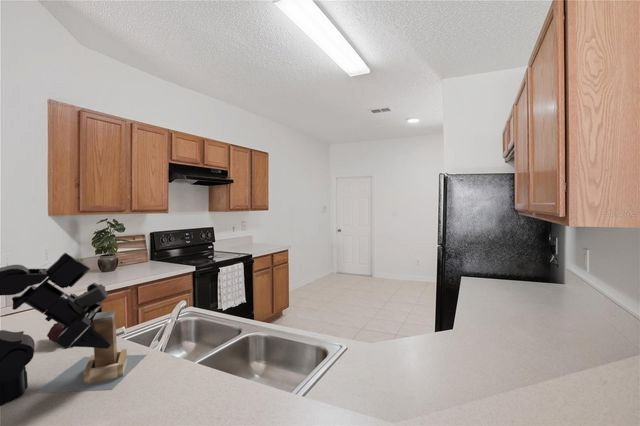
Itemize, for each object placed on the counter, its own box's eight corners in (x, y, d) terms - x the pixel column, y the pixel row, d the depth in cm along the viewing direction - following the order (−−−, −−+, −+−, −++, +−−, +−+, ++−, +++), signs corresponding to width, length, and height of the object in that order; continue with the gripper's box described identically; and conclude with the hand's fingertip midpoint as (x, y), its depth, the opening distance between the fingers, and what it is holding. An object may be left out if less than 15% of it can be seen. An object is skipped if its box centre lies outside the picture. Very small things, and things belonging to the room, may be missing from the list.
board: (112, 393, 71) (112, 389, 71) (34, 397, 71) (34, 392, 70) (147, 358, 87) (147, 354, 87) (84, 360, 86) (84, 356, 86)
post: (95, 378, 76) (92, 319, 75) (99, 368, 80) (96, 313, 80) (114, 374, 78) (112, 316, 77) (117, 364, 82) (115, 310, 81)
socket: (83, 384, 73) (83, 372, 73) (91, 366, 81) (90, 355, 81) (123, 375, 77) (122, 364, 77) (127, 359, 85) (126, 348, 85)
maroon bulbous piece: (36, 321, 99) (53, 336, 90) (64, 309, 104) (82, 322, 96) (44, 339, 101) (61, 356, 92) (71, 326, 106) (89, 340, 98)
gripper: (73, 286, 68) (134, 325, 73) (90, 269, 84) (139, 302, 90) (28, 328, 65) (95, 367, 70) (55, 302, 81) (107, 335, 87)
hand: (112, 339), depth 79 cm, fingers open, 9 cm apart
